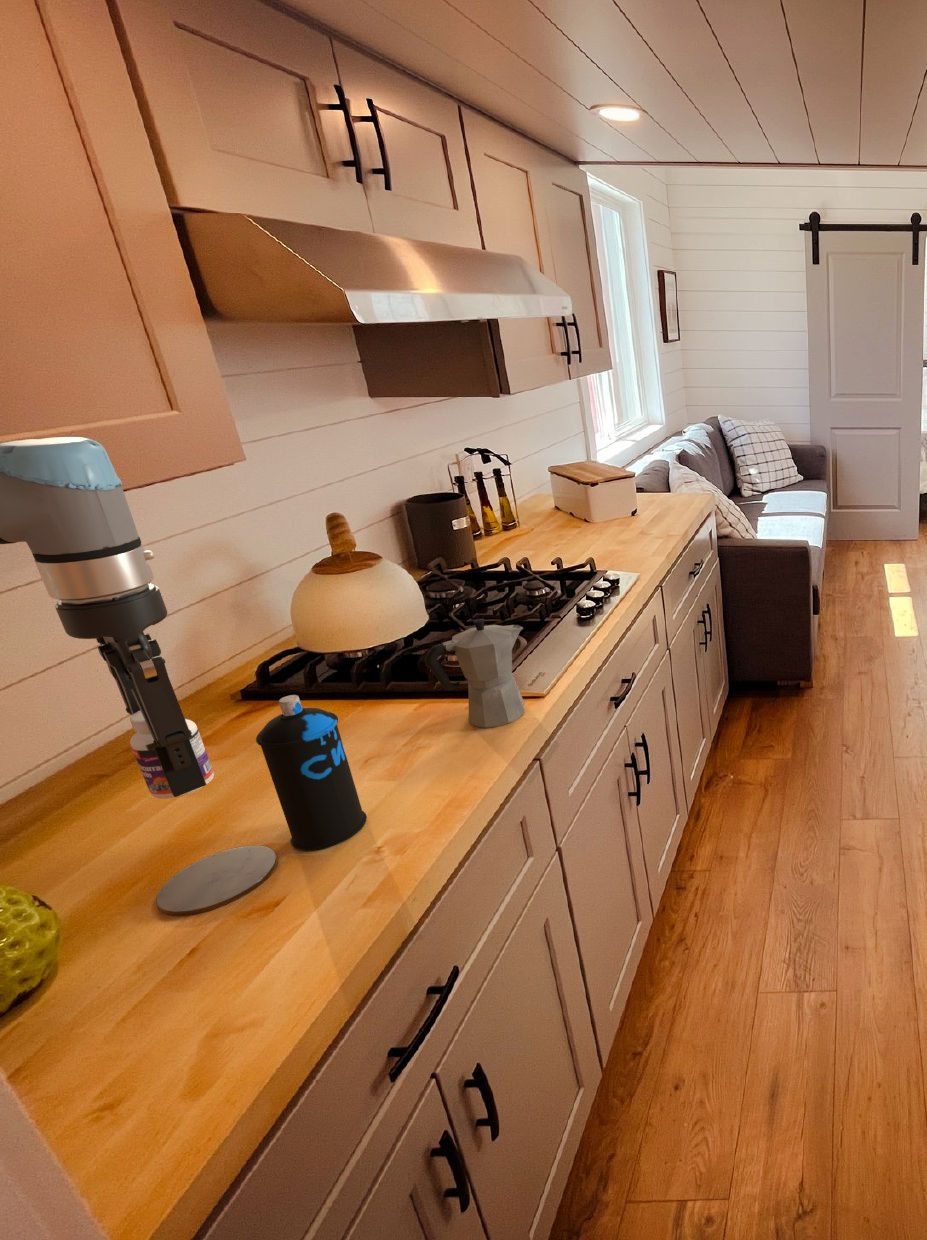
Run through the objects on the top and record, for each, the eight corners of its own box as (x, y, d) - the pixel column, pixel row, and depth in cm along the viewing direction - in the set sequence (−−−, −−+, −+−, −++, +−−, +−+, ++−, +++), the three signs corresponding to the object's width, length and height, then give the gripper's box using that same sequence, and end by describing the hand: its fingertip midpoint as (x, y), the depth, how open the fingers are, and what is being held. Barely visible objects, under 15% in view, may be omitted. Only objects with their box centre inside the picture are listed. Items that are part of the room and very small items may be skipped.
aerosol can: (275, 852, 90) (227, 716, 83) (320, 810, 98) (279, 682, 91) (340, 851, 91) (298, 715, 84) (380, 809, 98) (344, 682, 91)
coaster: (134, 924, 79) (132, 920, 79) (192, 857, 89) (190, 853, 89) (250, 904, 82) (248, 900, 82) (294, 842, 92) (292, 838, 92)
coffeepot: (523, 691, 130) (507, 601, 124) (547, 709, 124) (531, 615, 118) (432, 724, 119) (408, 627, 113) (453, 745, 113) (430, 644, 107)
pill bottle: (137, 798, 79) (105, 722, 75) (187, 769, 84) (160, 697, 80) (179, 802, 78) (149, 726, 75) (227, 773, 83) (201, 701, 80)
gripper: (182, 599, 71) (251, 792, 79) (131, 565, 80) (197, 739, 88) (74, 623, 65) (161, 829, 73) (34, 583, 74) (114, 769, 82)
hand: (181, 780), depth 81 cm, fingers closed on pill bottle, 5 cm apart
